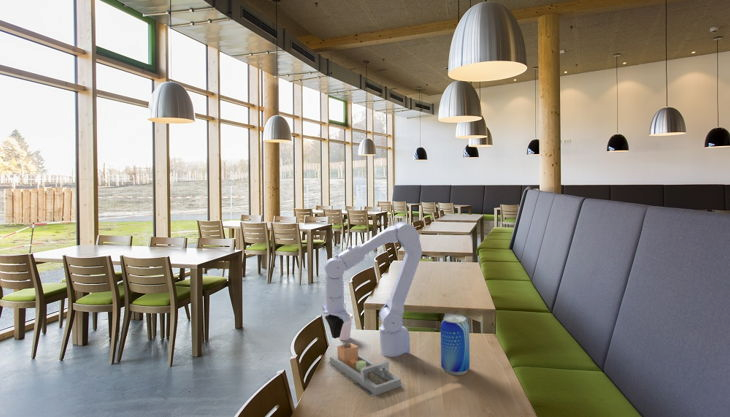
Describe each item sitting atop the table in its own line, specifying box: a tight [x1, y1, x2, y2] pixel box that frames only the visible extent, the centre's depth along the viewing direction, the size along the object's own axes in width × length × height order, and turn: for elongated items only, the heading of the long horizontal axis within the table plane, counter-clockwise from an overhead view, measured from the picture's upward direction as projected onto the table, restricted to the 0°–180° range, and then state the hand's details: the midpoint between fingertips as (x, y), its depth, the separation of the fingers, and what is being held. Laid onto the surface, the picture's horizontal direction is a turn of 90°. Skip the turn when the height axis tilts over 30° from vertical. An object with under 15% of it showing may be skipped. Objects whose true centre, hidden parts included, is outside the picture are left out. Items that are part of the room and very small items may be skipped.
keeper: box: [336, 342, 359, 370], centre depth 134 cm, size 5×6×6 cm
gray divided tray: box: [329, 353, 405, 398], centre depth 129 cm, size 11×26×3 cm, turn 33°
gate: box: [360, 360, 390, 387], centre depth 123 cm, size 9×1×6 cm, turn 123°
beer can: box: [440, 314, 471, 376], centre depth 131 cm, size 8×8×16 cm
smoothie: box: [338, 302, 354, 341], centre depth 156 cm, size 6×6×14 cm
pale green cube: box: [355, 361, 366, 374], centre depth 129 cm, size 3×3×3 cm
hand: (336, 337), depth 141 cm, fingers closed
